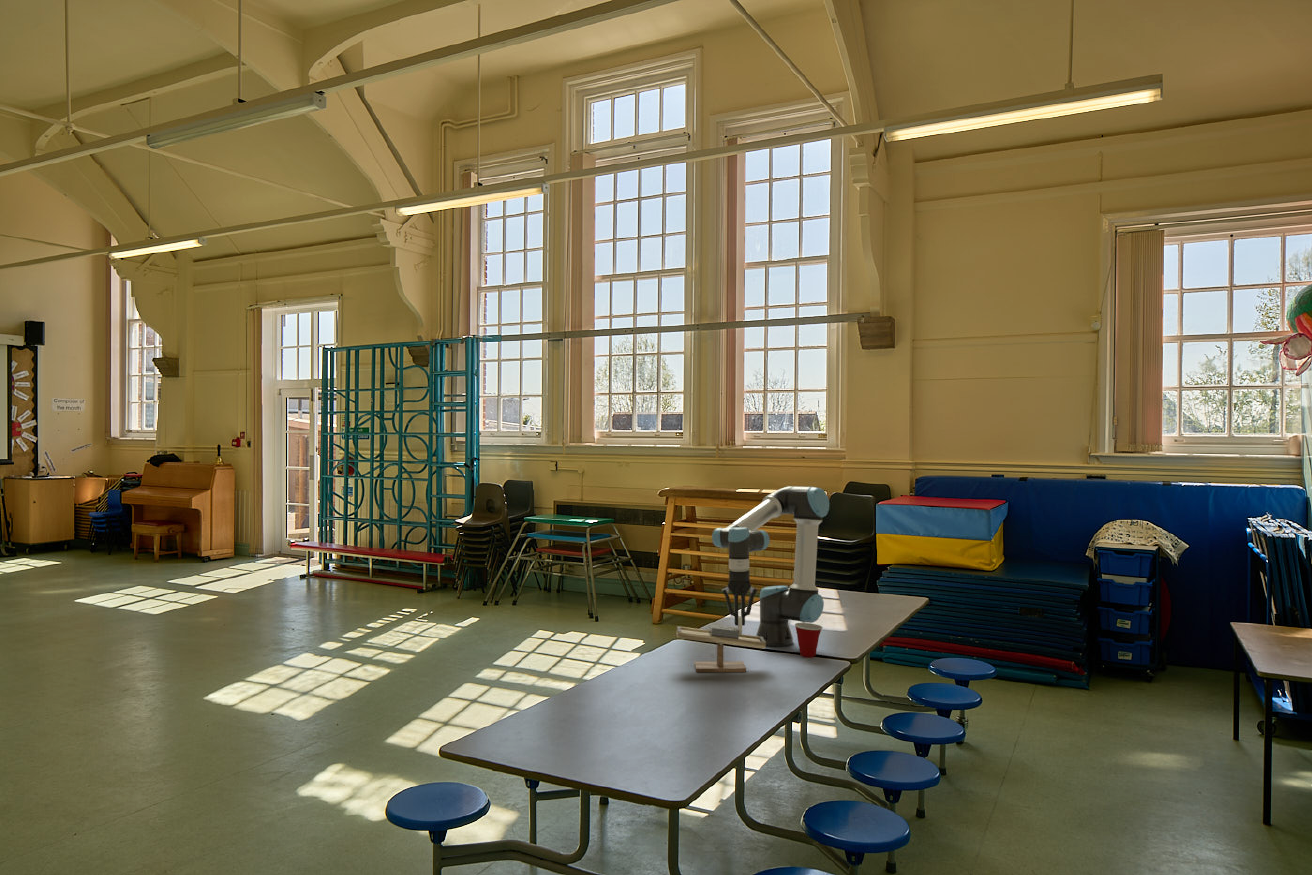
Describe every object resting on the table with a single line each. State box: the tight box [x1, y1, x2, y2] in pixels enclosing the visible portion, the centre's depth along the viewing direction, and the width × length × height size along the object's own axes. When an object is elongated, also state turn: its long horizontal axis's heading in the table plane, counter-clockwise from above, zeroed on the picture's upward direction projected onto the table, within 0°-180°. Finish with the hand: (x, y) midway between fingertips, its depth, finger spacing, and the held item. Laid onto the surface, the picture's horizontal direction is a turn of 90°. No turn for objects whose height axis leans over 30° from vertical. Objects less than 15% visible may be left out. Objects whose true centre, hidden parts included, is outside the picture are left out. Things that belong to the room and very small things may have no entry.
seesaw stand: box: [694, 643, 747, 673], centre depth 321 cm, size 10×18×9 cm, turn 91°
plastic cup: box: [794, 622, 824, 658], centre depth 340 cm, size 11×11×12 cm
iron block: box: [708, 623, 739, 639], centre depth 321 cm, size 7×10×4 cm
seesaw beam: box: [675, 625, 766, 650], centre depth 321 cm, size 10×32×3 cm, turn 91°
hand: (739, 634), depth 321 cm, fingers closed
